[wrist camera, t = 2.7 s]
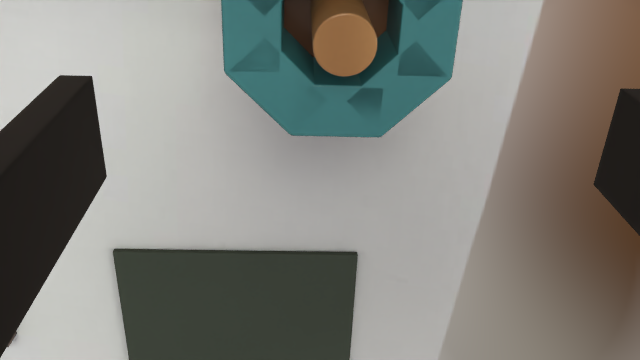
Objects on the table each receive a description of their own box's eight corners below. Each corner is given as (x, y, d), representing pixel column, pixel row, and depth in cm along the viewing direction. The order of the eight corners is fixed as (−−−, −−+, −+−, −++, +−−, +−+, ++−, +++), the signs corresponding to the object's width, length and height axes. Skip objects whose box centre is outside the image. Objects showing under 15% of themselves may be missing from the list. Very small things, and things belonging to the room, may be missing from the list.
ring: (453, -104, 26) (477, -97, 23) (426, 106, 31) (443, 139, 27) (228, -113, 26) (216, -107, 22) (235, 102, 30) (226, 134, 27)
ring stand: (402, -99, 34) (469, -67, 21) (389, 41, 38) (438, 146, 24) (260, -104, 34) (232, -76, 20) (261, 37, 38) (239, 142, 24)
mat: (357, 252, 46) (357, 255, 45) (345, 402, 53) (345, 406, 53) (114, 248, 45) (112, 251, 45) (137, 402, 52) (136, 406, 52)
